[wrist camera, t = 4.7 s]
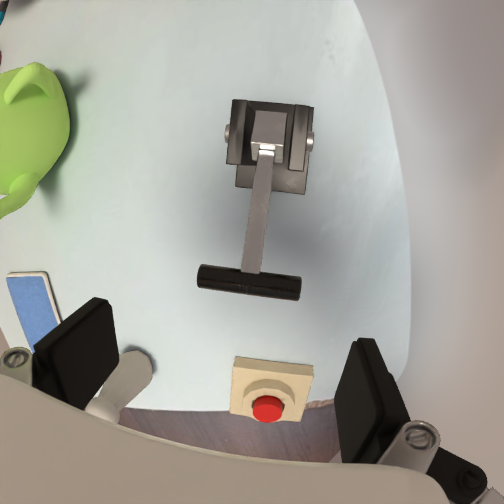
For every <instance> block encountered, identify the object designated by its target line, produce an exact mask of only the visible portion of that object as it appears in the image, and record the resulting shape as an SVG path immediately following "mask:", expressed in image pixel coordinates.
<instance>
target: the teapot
mask: <svg viewBox="0 0 504 504" xmlns="http://www.w3.org/2000/svg"><path fill="white" fill-rule="evenodd" d="M69 132H70V119H69V112H68V107H67V102H66V99H65V96H64V93H63V90H62V87H61V85H60V82H59V81H58V79H57V77H56V75H55V74H54V73H53V72H52V71H51V70H50V69H48V68H46V67H45V66H44V65H42V64H40V63H30V64H28V65H26V66H25V67H21V68H16V69H13V70H10V71H7V72H4V73H2V74H0V195H7V196H6V197H4V198H2V199H1V200H0V220H1V219H2V218H3V217H4V216H5V215H7V214H9V213H11V212H14V211H16V210H17V209H19V208H21V207H22V206H23V205H25V204H26V203H27V202H28V200H29V199H30V198H31V197H32V195H33V193H34V191H35V188H36V186H37V183H38V182H39V181H40V180H41V179H42V178H43V177H44V176H45V175H46V174H47V172H48V171H49V170H50V169H51V168H52V166H53V165H54V164H55V162H56V161H57V159H58V158H59V156H60V155H61V153H62V151H63V150H64V148H65V146H66V143H67V141H68V137H69Z"/></svg>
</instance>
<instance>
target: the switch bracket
mask: <svg viewBox="0 0 504 504" xmlns="http://www.w3.org/2000/svg"><path fill="white" fill-rule="evenodd" d="M256 110H257V111H269V112H280V113H287V114H288V116H287V129H286V139H285V148H284V158H283V163H274V171H273V179H272V187H271V191H278V192H287V193H295V194H303V195H305V189H306V180H307V172H308V162H309V153H310V152H311V151H312V149H313V142H314V132H312V122H313V111H314V107H310V106H306V105H298V104H295V105H292V104H283V103H272V102H260V101H248V100H238V99H233V100H232V108H231V118H230V124H227V126H226V129H225V142H226V143H228V148H227V159H226V164H230V165H237V172H236V183H235V187H241V188H251V189H253V184H254V177H255V171H256V164H257V161H255V160H252V156H251V147H250V139H251V134H252V128H253V122H254V116H255V111H256Z"/></svg>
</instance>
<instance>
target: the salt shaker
mask: <svg viewBox="0 0 504 504" xmlns="http://www.w3.org/2000/svg"><path fill="white" fill-rule="evenodd" d="M151 380H152V365H151V362H150V359H149V357H148V356H147V355H145V354H143V353H142V352H140V351H139V350H136V351H130V352H125V353H123V354H121V355H119V364H118V366H117V367H116V368H115V370H114V371H113V372H112V373H111V375H110V376H109V377H108V379H107V380H106V381H105V383H104V385H103V387H102V389H101V391H100V394H99V396H98V397H94V398H92V399H91V401H90V402H89V403H88V405H87V406H86V409H85V410H86V412H87V413H89V414H92V415H94V416H97V417H99V418H102V419H104V420H107V421H110V422H112V423H115V424H117V423H118V421H119V419H120V415H119V411H120V410H121V409H122V408H124V407H125V406H126V405H127V404H128V403H129V402H130V401H131V400H132V399H133V398H134V397H136V396H137V395H138V394H139V393H140V392H141V391H142V390H143V389H144V388H145V387H146V386H148V385H149V383H150V381H151Z"/></svg>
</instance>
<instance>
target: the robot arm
mask: <svg viewBox="0 0 504 504" xmlns="http://www.w3.org/2000/svg"><path fill="white" fill-rule="evenodd" d="M33 348H34V351H35V352H34V353H33V354H32V353H31V352H30V350H28V349H27V348H24V347H15V348H11V349H9V350H7V351H6V352H4V353H3V354H2V356H1V358H0V504H504V497H503V496H502V495H501V494H500V493H499V492H498V491H496V490H495V489H494V488H493V487H492V488H490V489H488V488H487V477H486V474H485V473H484V471H483V470H482V469H481V468H479V467H478V466H476V465H474V464H472V463H470V462H468V461H466V460H464V459H462V458H460V457H458V456H456V455H454V454H452V453H450V452H448V451H446V450H444V449H443V448H441V447H439V445H440V434H439V433H438V431H437V430H436V428H435V427H434V426H432V425H431V424H429V423H427V422H424V421H418V420H415V421H411V420H410V417H409V415H408V412H407V409H406V407H405V404H404V402H403V399H402V397H401V394H400V392H399V389H398V387H397V385H396V382H395V380H394V377H393V375H392V374H391V373H389V372H388V370H387V367H386V365H385V362H384V360H383V358H382V355H381V353H380V351H379V348H378V346H377V344H376V342H375V340H374V339H373V338H358V340H357V341H353V343H352V345H351V348H350V351H349V355H348V358H347V361H346V364H345V367H344V370H343V373H342V376H341V379H340V382H339V384H338V387H337V390H336V393H335V397H334V404H335V411H336V418H337V426H338V433H339V441H340V449H341V458H342V463H315V462H298V461H285V460H273V459H264V458H256V457H248V456H241V455H235V454H229V453H223V452H218V451H213V450H208V449H203V448H198V447H194V446H189V445H185V444H181V443H177V442H173V441H169V440H166V439H162V438H158V437H155V436H151V435H148V434H145V433H142V432H139V431H135V430H132V429H129V428H127V427H124V426H121V425H118V424H115V423H112V422H110V421H107V420H104V419H102V418H99V417H97V416H94V415H92V414H89V413H87V412H85V411H83V410H84V409H85V407H86V406H87V405H88V403H89V402H90V401H91V399H92V398H93V397H94V395H95V394H96V393H97V392H98V390H99V389H100V388H101V386H102V385H103V384H104V382H105V381H106V380H107V379H108V377H109V376H110V375H111V373H112V372H113V371H114V370H115V368H116V367H117V366H118V364H119V352H118V346H117V340H116V334H115V327H114V320H113V312H112V306H111V305H110V304H109V302H108V301H107V300H106V299H101V298H97V297H94V298H92V299H91V300H89V301H88V302H87V303H85V304H84V305H83V306H82V307H80V308H79V309H78V310H76V311H75V312H74V313H73V314H71V315H70V316H69V317H68V318H66V319H65V320H64V321H63V322H61V323H60V324H59V325H58V326H56V327H55V328H54V329H53V330H51V331H50V332H49V333H48V334H46V335H45V336H44V337H43V338H42V339H40V340H39V341H38V342H37V343H36V344H34V345H33Z"/></svg>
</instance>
